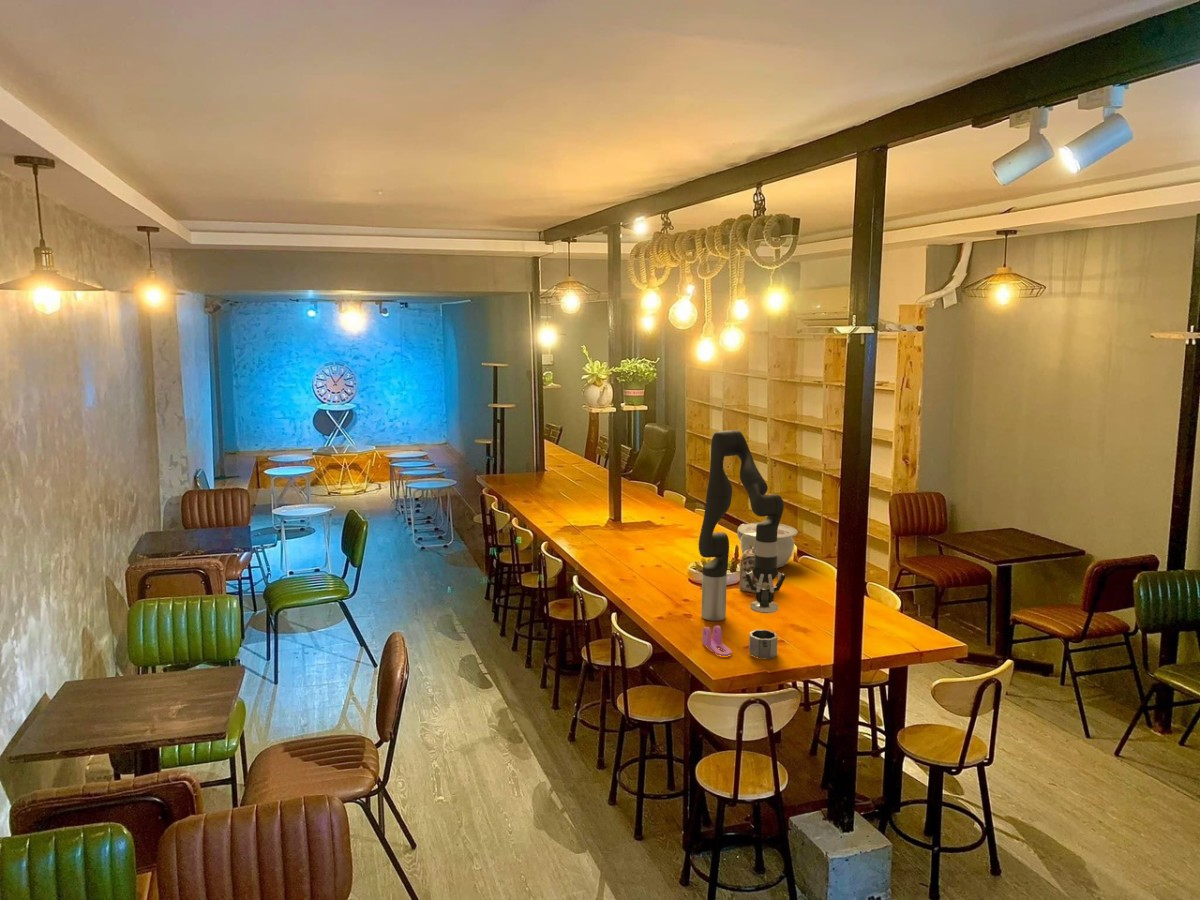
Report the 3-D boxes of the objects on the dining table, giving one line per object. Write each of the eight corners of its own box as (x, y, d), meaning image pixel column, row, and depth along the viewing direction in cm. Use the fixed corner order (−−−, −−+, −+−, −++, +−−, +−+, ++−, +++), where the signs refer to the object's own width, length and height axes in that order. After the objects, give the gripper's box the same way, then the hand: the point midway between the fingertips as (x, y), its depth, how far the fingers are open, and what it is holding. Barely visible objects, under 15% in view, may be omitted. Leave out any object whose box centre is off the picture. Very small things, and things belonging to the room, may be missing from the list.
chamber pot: (802, 574, 372) (804, 529, 368) (741, 573, 372) (742, 528, 369) (789, 556, 399) (791, 514, 396) (732, 555, 400) (733, 513, 397)
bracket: (702, 644, 293) (702, 626, 292) (716, 642, 295) (716, 624, 294) (720, 659, 281) (720, 639, 280) (734, 656, 283) (735, 637, 282)
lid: (749, 603, 287) (749, 584, 286) (775, 604, 286) (776, 585, 285) (752, 612, 278) (752, 593, 276) (779, 613, 277) (780, 594, 276)
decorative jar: (738, 590, 350) (739, 549, 347) (747, 582, 360) (748, 542, 357) (766, 595, 344) (767, 553, 341) (774, 586, 354) (775, 546, 351)
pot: (747, 646, 291) (748, 627, 290) (773, 647, 291) (774, 627, 289) (751, 661, 279) (751, 641, 278) (778, 662, 278) (779, 642, 277)
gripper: (785, 550, 282) (783, 598, 285) (743, 549, 283) (742, 597, 286) (788, 556, 275) (786, 606, 277) (745, 555, 276) (744, 605, 279)
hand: (764, 601), depth 282 cm, fingers closed on lid, 3 cm apart
